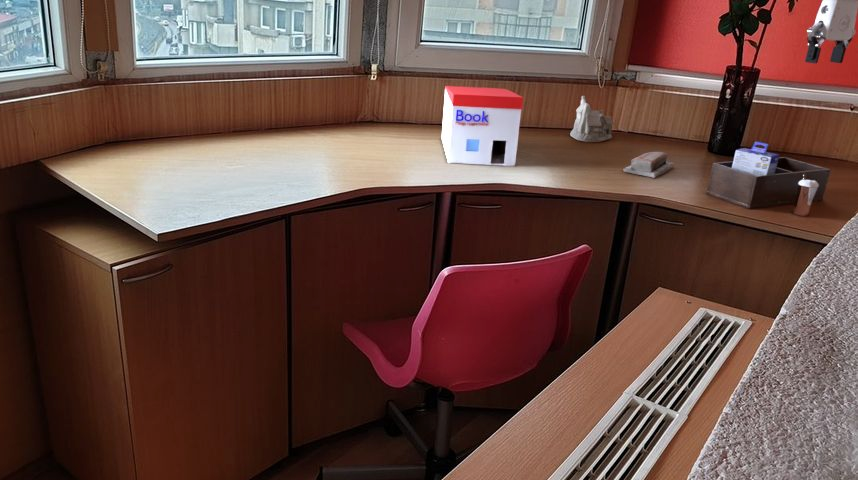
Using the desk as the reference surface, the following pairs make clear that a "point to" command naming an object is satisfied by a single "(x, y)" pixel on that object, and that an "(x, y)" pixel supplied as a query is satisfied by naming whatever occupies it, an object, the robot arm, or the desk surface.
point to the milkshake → (805, 196)
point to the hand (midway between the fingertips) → (823, 62)
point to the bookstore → (481, 125)
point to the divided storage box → (765, 183)
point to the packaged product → (649, 164)
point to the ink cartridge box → (755, 160)
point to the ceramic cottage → (591, 124)
